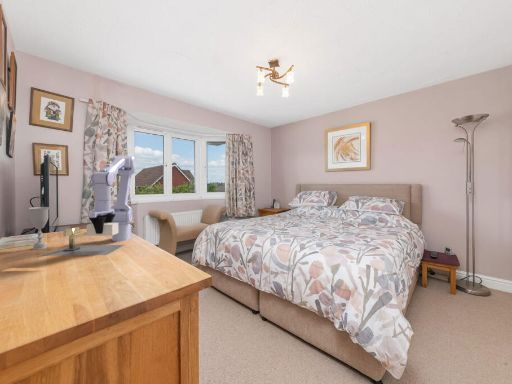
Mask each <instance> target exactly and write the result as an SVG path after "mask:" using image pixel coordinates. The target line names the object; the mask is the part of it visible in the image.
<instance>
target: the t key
mask: <svg viewBox="0 0 512 384" xmlns="http://www.w3.org/2000/svg"><path fill="white" fill-rule="evenodd" d="M62 235H63V237H68V246H69V249H72V248H75V245H76V243H75V239H77V238H81V237H85V236H87V232H83V233H80V226H75V227H71V228H66V229H63V231H62Z"/></svg>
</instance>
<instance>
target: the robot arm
mask: <svg viewBox="0 0 512 384" xmlns="http://www.w3.org/2000/svg"><path fill="white" fill-rule="evenodd" d="M136 168H137V160H136V157H135V156H134V155H130V156H129V155H113V157H112V158H111V164H110V163H106V164H105V166H104V167H103V168H102V169H100V170H99V171H95V172H93V173H92V174H91V178H90V180H91V184H92V188H93V191H94V210H92V211H91V212H89V217H88V218H89V219H88V220H90V222H91V223H92V224H93V226H94V228H95V232H96V234H102V232H103V225H104V223H118V233H117V234H115V235H111V241H112V242H124V241H127V240H129V239H132V238H133V237H132V225H131V224H130V223H131V222H132V221H133V217H134V216H133V214H134V213H133V208H132V207H131V206H129V205H128V202H129V201H128V200H129V193H130V186H131V180H132V175H134V174H135V173H136V170H137V169H136ZM117 175H120V177H119V184H118V191H117V195H116V203H115V204H114V205H112V200H111V199H112V197H111V196H112V194H111V191H112V189H111V187H112V186H113V184H114V180H115V177H116V176H117Z"/></svg>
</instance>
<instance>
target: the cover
mask: <svg viewBox="0 0 512 384" xmlns="http://www.w3.org/2000/svg"><path fill="white" fill-rule="evenodd" d="M86 233H87V235H86V237H87V236H89V237H90V236H92V237H93V236H94V237H95V236H102V237H103V236H104V237H105V236H112V235H115V234H117V233H118V223H104V225H103V232H102V234H96V232H95V228H94V226H93V224H92V222H91V223H89V224H86Z"/></svg>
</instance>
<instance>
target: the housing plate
mask: <svg viewBox="0 0 512 384" xmlns="http://www.w3.org/2000/svg"><path fill="white" fill-rule="evenodd" d="M124 246H125V244H79V245H78V244H77V245H76V244H75V248H72V249H69V245H67V246H64V247H61V248H58V249H55V250H53V251H50V252H47V253H45V254H43V255H41V256H42V257H43V256H45V257H49V256H51V257H52V256H108V255H110V254H111V253H113V252H115V251H117V250H119V249H120V248H122V247H124Z"/></svg>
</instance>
